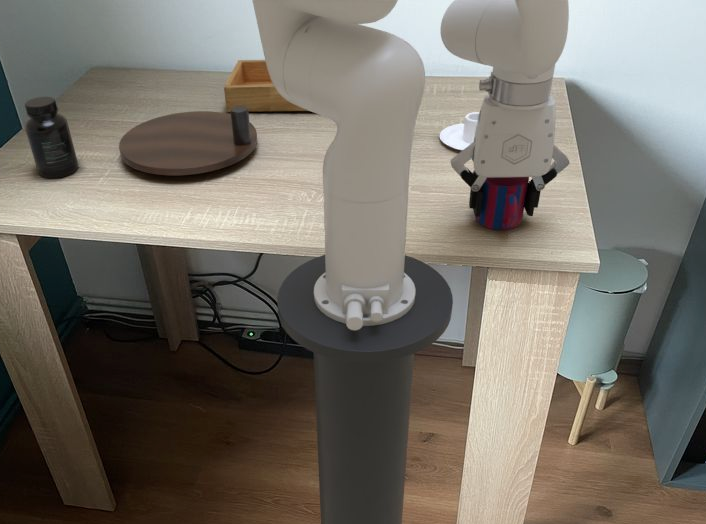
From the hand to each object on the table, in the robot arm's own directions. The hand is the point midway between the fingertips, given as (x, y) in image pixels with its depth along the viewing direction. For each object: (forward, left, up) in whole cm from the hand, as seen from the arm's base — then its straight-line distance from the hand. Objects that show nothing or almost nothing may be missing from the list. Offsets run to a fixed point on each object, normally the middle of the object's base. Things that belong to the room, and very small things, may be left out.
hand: (502, 210), depth 104 cm
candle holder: (+29, 0, -2) cm, 29 cm away
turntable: (+26, +50, -1) cm, 56 cm away
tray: (+50, +30, -2) cm, 58 cm away
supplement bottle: (+20, +72, -2) cm, 75 cm away
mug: (0, 0, -2) cm, 2 cm away
